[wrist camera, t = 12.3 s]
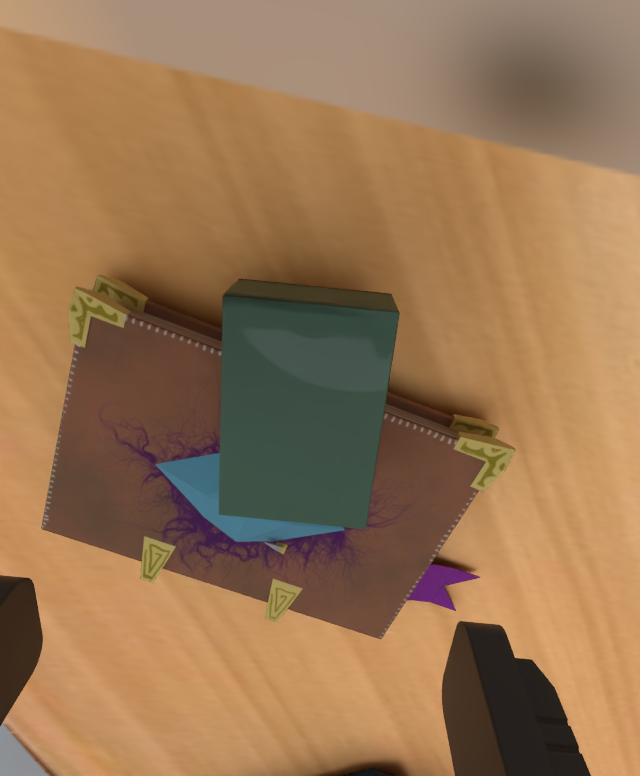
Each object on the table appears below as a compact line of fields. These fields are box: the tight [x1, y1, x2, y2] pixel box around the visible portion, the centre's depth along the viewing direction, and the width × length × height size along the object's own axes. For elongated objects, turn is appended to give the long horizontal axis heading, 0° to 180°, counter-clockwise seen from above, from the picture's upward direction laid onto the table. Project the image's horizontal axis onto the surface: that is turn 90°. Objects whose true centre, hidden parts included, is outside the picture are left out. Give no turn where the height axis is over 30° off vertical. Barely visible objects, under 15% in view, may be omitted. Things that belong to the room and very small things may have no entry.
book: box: [41, 275, 515, 639], centre depth 26 cm, size 16×25×5 cm, turn 69°
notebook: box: [219, 279, 400, 529], centre depth 20 cm, size 9×6×3 cm, turn 175°
